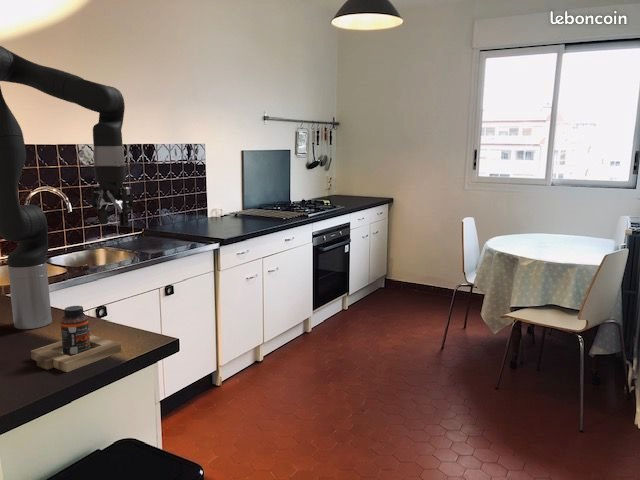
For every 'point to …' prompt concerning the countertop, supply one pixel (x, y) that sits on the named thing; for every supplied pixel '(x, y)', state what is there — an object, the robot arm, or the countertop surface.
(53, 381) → the countertop surface
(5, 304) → the countertop surface
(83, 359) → the holder
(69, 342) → the supplement bottle
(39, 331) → the countertop surface
